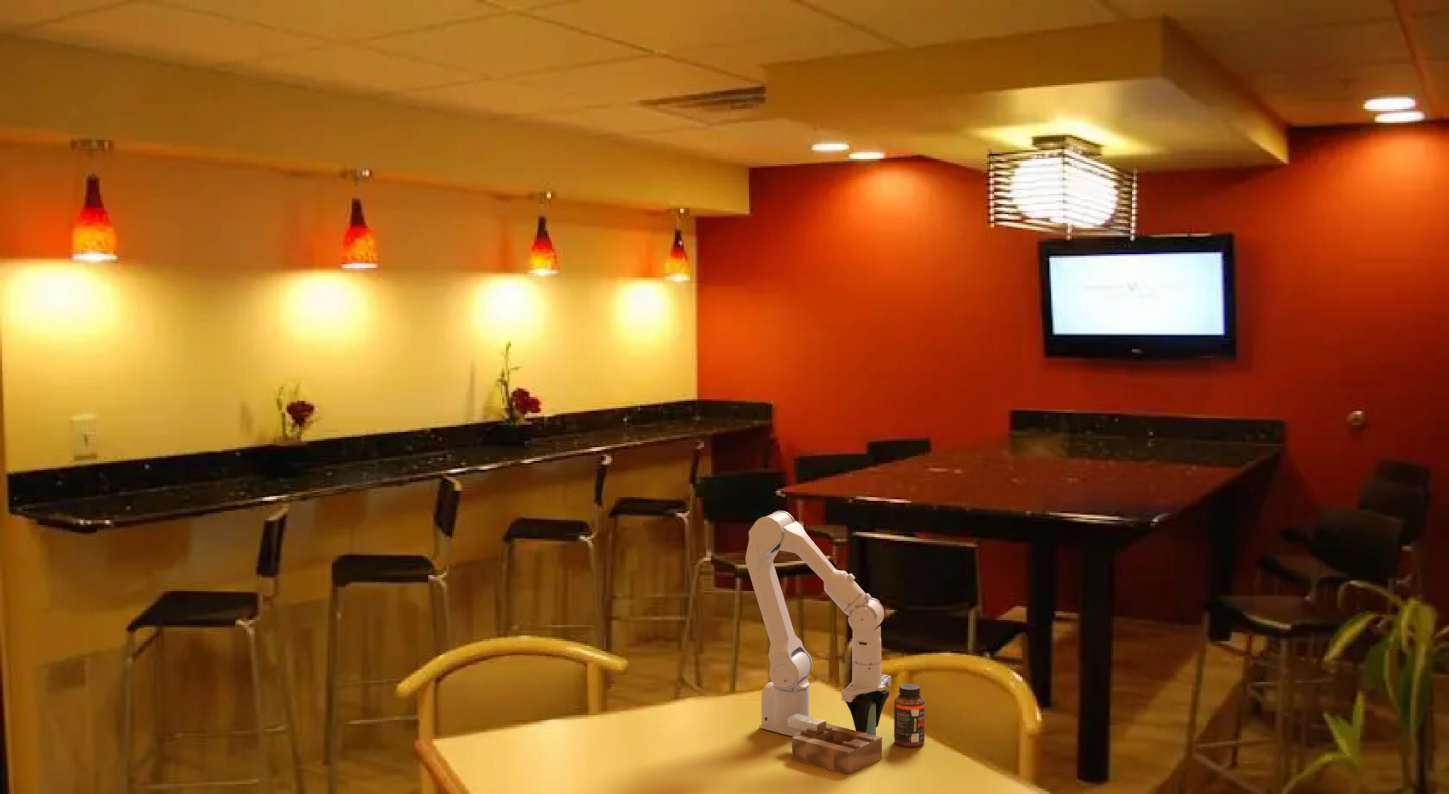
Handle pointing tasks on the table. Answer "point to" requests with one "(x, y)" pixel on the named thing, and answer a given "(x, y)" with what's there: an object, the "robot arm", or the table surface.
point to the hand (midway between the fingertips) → (866, 728)
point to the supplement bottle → (909, 716)
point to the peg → (872, 720)
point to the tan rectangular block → (807, 723)
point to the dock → (837, 748)
